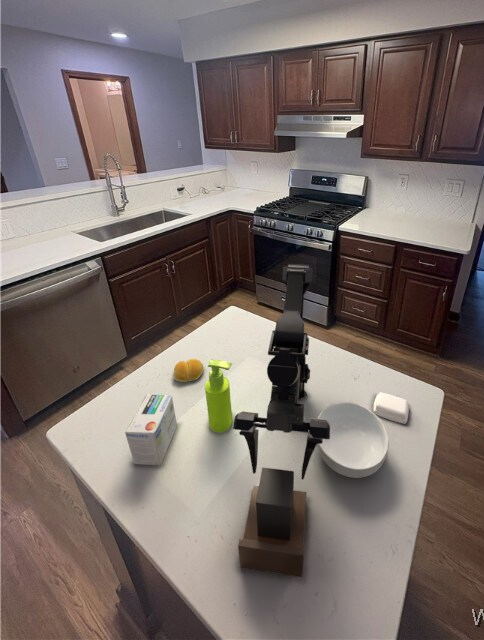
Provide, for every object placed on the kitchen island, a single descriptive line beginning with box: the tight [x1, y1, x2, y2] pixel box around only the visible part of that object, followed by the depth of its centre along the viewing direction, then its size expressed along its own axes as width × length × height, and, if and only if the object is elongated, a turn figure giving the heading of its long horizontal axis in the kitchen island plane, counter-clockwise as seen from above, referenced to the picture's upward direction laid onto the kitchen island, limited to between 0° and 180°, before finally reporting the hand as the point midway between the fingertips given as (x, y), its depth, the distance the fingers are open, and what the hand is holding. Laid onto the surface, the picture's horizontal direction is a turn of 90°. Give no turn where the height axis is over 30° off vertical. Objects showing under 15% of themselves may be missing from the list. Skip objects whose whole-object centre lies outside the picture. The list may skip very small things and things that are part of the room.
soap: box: [372, 391, 410, 425], centre depth 85 cm, size 9×7×3 cm
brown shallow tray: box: [237, 485, 307, 578], centre depth 59 cm, size 12×11×7 cm
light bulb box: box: [124, 394, 178, 466], centre depth 74 cm, size 11×7×11 cm, turn 178°
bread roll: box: [173, 358, 205, 383], centre depth 97 cm, size 8×9×4 cm
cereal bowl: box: [316, 401, 390, 479], centre depth 73 cm, size 17×17×7 cm
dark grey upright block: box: [256, 467, 295, 541], centre depth 57 cm, size 6×6×10 cm
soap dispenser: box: [204, 359, 233, 433], centre depth 78 cm, size 6×7×20 cm
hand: (278, 476), depth 59 cm, fingers open, 9 cm apart
